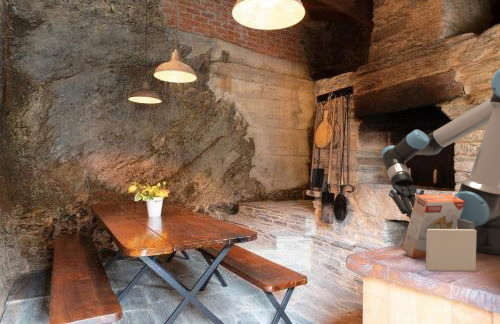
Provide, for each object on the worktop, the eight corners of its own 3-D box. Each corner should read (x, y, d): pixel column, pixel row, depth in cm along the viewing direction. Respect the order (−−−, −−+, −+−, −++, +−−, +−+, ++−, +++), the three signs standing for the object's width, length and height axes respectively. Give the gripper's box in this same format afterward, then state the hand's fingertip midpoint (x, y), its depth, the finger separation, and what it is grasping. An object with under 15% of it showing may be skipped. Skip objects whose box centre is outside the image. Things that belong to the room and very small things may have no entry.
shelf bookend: (461, 262, 108) (462, 218, 108) (477, 270, 100) (478, 223, 100) (415, 262, 108) (416, 218, 107) (428, 270, 100) (429, 223, 100)
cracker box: (412, 259, 111) (427, 201, 105) (401, 249, 117) (415, 193, 110) (448, 257, 114) (466, 201, 108) (436, 247, 120) (452, 193, 113)
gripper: (414, 184, 136) (436, 235, 120) (380, 184, 136) (397, 235, 120) (421, 171, 131) (445, 223, 114) (385, 171, 131) (405, 223, 114)
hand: (421, 229), depth 117 cm, fingers closed
